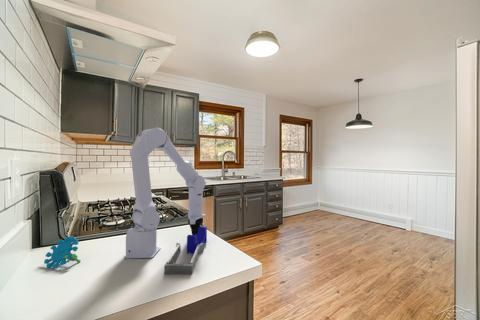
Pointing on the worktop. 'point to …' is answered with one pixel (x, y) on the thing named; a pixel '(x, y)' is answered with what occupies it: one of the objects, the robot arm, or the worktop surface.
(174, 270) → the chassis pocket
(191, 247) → the cable clip
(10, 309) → the worktop surface
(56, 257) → the blue knobby toy
